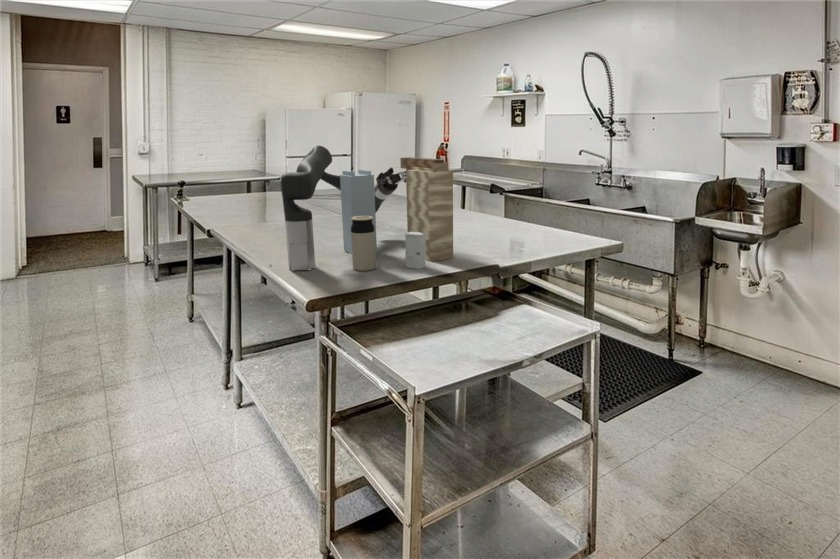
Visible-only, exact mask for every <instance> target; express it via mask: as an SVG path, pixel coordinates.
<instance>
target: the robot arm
mask: <svg viewBox="0 0 840 559" xmlns="http://www.w3.org/2000/svg"><path fill="white" fill-rule="evenodd" d="M332 162H333V156H332V154H331V152H330V151H329V149H328V148H327V147H324V146H322V145H316V146H313V147H312V149H311V150H310V151H309V152H308V153H307V154H306V155H305V156H304V157H303V158H302V160H301V162H300V163H299V164H298V166H297V167H296V171H295V172H292V171H291V172H284V173H283V174H281V177H280V190H281V197H282V205H283V206H282V207H283V214H284V224H285V235H286V236H285V237H286V248H287V258H288V259H287V260H288V269H289V268H290V269H291V270H309V269H311V270H313V269H312V268H314V267H315V268H316V267H317V266H316V254H315V252H316V251H315V241H314V240H315V238H314V226H313V213H312V211H311V210H309V209H307V208H304V207H302V206H299V205H298V204H297V203H296V202H295V201H302V200H303V201H304V200H310V199H312V197H313V196H314V194H315V192H316V188H317V185H318V183H319V181H321V180H322V181H323V182H325V183H327V184H328V185H330V186H332V187H334V188H335V189H337V190H338V191H340V192H341V186H340V175H336V174H333V173H332V174H331V173H328V172H326V169H327V168H328V167H329V166H330V165H331V164H332ZM406 170H412V169H405V170H404V171H399V172H397V173H394V168H393V167H389V169H387V170H386V171H385V172H382V171H381V172H380V173H379V174H378V175H377V177H376V179H375V180H376V183H375V184H374V191H375V214H376V213H377V212H378V211H379V209H380V208H381V206H382V204H383V202H385V201H386V199H388V198H389V197H390V196H391V195H392V194H393V193H394V192H395V191H396V190H397V188H398V186H399V184H400V183H401V182H403V183H404V184H405V183H406ZM315 268H314V269H315ZM290 269H289V270H290ZM291 270H290V271H291ZM309 271H310V270H309Z"/></svg>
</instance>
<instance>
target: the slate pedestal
mask: <svg viewBox="0 0 840 559" xmlns="http://www.w3.org/2000/svg"><path fill="white" fill-rule="evenodd" d="M357 171H358V173H355V171H347V170H342V174H339V176H340V186H341V191H340V201H341V217H342V218H341V220H342V221H341V222H342V237H343V238H342V240H343V251H344V250H345V251H347V252H349V253H351V254H350V255H352V241H351V226H352V224H353V223H352V219H351V218H352V217H355V216H372V217H373V219H372V223H373V225H374V235H375V253H378V250H377V248H378V246H377V242H378V241H377V224H376V222H377V220H376V213H375V191H374V187H375V175H374V174H372V171H371V170H366V169H365V170H364V169H358V170H357ZM345 251H344V252H345ZM347 252H346V253H347ZM349 253H348V254H349Z"/></svg>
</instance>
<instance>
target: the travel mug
mask: <svg viewBox="0 0 840 559" xmlns="http://www.w3.org/2000/svg"><path fill="white" fill-rule="evenodd" d="M351 219H352V223H353V224H352V226H351V241H352V254H351V255H352V256H351V257H352V258H351V259H352V260H351V261H352V269H353V270H354V271H360V272H368V271H373V270H374V269H376V267H377V265H376V264H377V263H376V261H377V260H376V252H375V235H374V225H373V223H372V219H373V217H372V216H355V217H352V218H351Z"/></svg>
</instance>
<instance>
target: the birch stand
mask: <svg viewBox="0 0 840 559" xmlns="http://www.w3.org/2000/svg"><path fill="white" fill-rule="evenodd" d="M405 171H406V173H405V174H406V184H405V185H406V222H407V223H406V226H407V227H406V229H407V230H406V231H407V233H409V232H420V233H426V253H425V261H427V260H428V261H427V262H430V261H432V262H437V260H438V261H443V259H444V260H448V259H449V258H450V259H453V258H454V171H453V170H450V168H449V162H448V161H447V162H446V161H444V163H433V169H431V168H420V167H412V170H406V169H405Z"/></svg>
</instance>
